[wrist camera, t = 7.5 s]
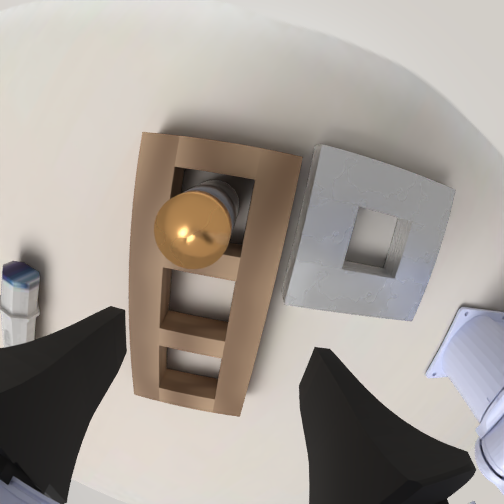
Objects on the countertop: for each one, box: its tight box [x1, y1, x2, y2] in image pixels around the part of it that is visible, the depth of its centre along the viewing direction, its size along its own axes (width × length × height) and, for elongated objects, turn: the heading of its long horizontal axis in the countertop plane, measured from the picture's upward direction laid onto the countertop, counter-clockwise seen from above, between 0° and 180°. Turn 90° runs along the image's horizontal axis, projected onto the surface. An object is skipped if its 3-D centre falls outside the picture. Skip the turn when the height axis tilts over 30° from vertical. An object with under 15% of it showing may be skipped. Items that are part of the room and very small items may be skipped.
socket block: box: [282, 144, 456, 321], centre depth 18 cm, size 10×10×2 cm
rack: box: [129, 132, 303, 417], centre depth 19 cm, size 9×20×2 cm, turn 169°
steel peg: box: [154, 180, 239, 269], centre depth 15 cm, size 3×3×7 cm
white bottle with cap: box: [0, 261, 40, 348], centre depth 22 cm, size 5×7×25 cm
